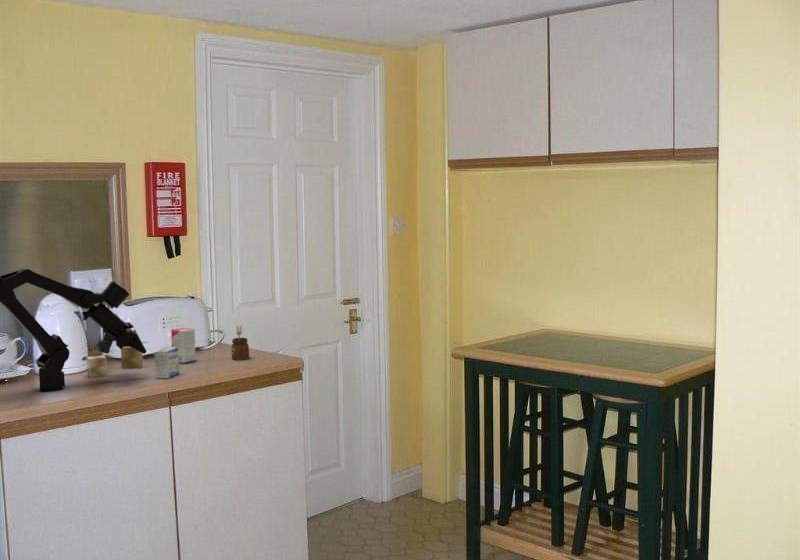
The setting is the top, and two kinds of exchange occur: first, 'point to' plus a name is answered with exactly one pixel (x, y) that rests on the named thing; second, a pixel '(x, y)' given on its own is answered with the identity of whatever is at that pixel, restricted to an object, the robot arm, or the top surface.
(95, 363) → the beech block
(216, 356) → the top surface
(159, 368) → the medicine box
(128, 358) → the oak block
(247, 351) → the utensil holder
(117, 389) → the top surface
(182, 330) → the supplement box
